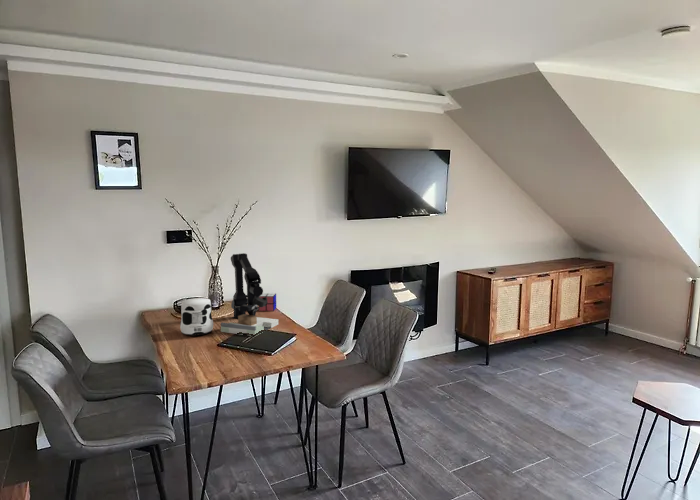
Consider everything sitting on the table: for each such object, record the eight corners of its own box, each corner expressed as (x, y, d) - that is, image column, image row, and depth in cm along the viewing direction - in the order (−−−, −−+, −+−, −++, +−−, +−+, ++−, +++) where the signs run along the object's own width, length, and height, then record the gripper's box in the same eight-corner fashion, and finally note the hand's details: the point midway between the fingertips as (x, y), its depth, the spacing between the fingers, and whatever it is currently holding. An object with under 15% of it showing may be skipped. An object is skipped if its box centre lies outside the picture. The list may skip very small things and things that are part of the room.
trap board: (221, 331, 263) (220, 323, 262) (246, 320, 286) (246, 312, 285) (254, 336, 255) (254, 327, 254) (278, 324, 278) (278, 316, 277)
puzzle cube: (273, 311, 310) (273, 296, 308) (258, 311, 310) (258, 296, 309) (276, 307, 320) (276, 293, 318) (261, 307, 320) (261, 293, 319)
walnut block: (238, 323, 268) (238, 316, 267) (243, 321, 272) (243, 314, 272) (251, 325, 264) (251, 317, 263) (256, 323, 268) (256, 315, 268)
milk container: (198, 327, 272) (197, 296, 270) (220, 331, 263) (219, 299, 261) (173, 334, 257) (172, 302, 255) (195, 339, 248) (194, 306, 246)
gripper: (255, 297, 259) (256, 325, 260) (272, 291, 276) (273, 317, 278) (238, 296, 263) (239, 323, 264) (256, 289, 280) (257, 315, 282)
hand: (252, 319), depth 272 cm, fingers closed
